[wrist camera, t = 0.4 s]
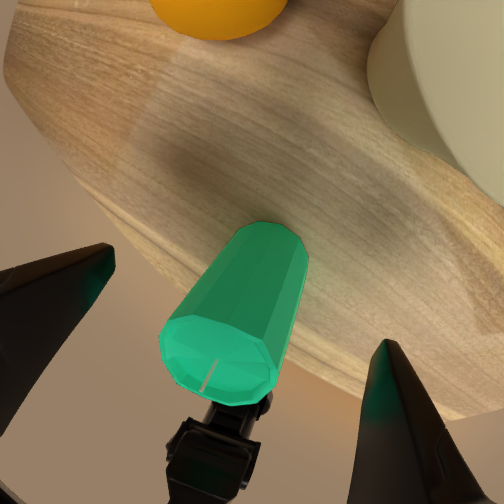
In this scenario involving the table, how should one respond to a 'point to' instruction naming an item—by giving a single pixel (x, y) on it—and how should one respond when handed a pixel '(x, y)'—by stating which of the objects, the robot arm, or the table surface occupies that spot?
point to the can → (445, 83)
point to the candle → (238, 317)
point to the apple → (217, 16)
